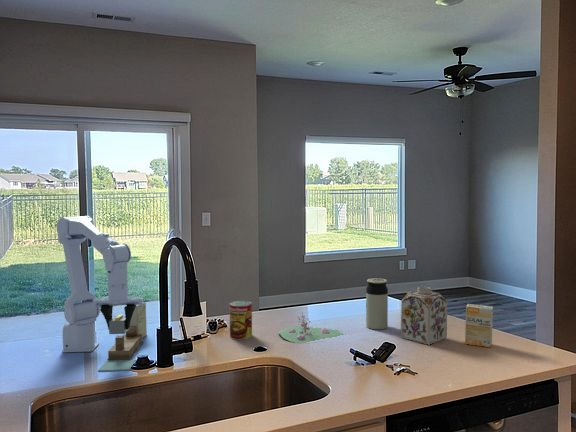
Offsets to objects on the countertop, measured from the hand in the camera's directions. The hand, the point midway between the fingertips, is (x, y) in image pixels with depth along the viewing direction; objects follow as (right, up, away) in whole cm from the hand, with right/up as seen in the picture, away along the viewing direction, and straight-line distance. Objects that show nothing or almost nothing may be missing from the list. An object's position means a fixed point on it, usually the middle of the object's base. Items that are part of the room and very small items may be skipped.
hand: (119, 328), depth 150 cm
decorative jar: (+99, -9, +22) cm, 102 cm away
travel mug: (+85, -8, +37) cm, 93 cm away
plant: (+60, -9, +28) cm, 67 cm away
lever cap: (0, -1, +1) cm, 1 cm away
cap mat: (0, -11, -2) cm, 11 cm away
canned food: (+35, -9, +26) cm, 44 cm away
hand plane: (-1, -10, +11) cm, 15 cm away
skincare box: (-2, -9, +26) cm, 28 cm away
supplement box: (+115, -9, +15) cm, 117 cm away
